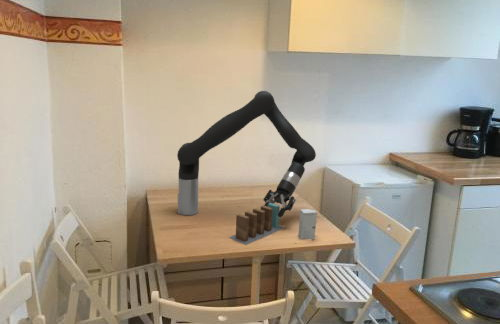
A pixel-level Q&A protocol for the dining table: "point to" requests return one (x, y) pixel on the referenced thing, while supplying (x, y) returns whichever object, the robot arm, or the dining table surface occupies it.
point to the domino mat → (257, 236)
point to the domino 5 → (274, 214)
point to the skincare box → (307, 224)
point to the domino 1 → (242, 227)
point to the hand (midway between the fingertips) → (271, 213)
